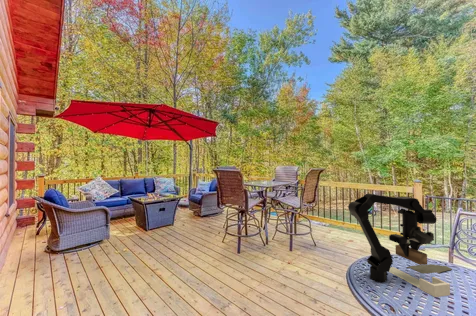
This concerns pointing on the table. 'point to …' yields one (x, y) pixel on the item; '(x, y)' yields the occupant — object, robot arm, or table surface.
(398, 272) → the board
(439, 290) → the end cap
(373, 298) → the table surface
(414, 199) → the robot arm
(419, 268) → the stone slab
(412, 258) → the slat
